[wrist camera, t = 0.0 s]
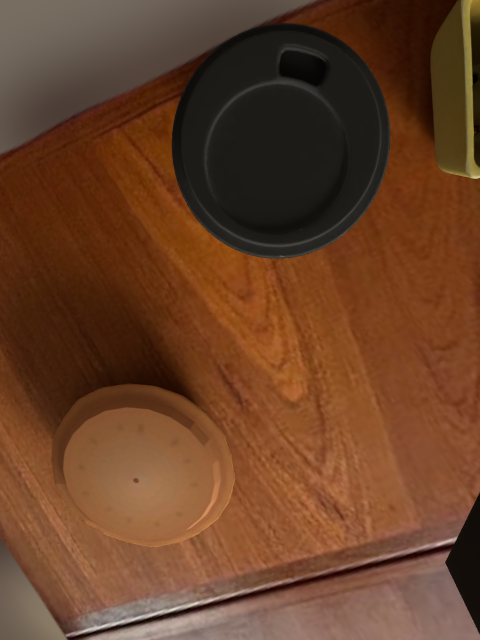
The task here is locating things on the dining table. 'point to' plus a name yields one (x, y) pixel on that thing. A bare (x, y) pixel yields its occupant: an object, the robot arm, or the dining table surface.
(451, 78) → the flower pot
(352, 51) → the coffee cup
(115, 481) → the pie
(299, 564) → the dining table surface
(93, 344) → the dining table surface
